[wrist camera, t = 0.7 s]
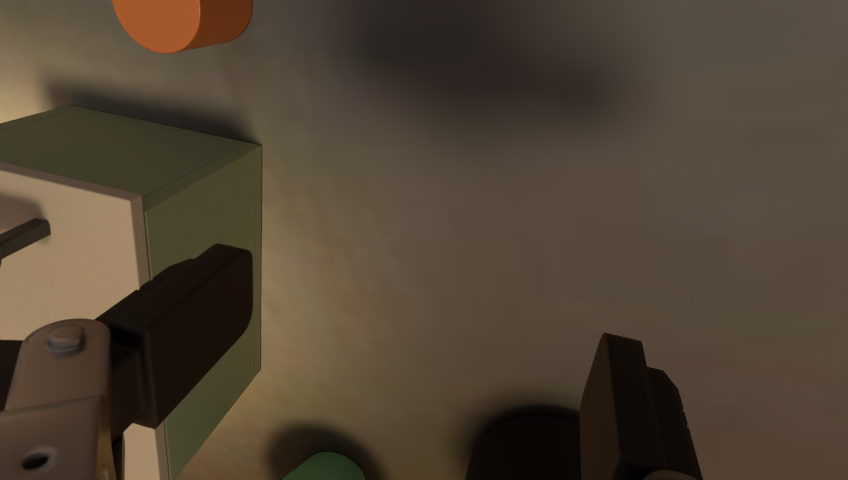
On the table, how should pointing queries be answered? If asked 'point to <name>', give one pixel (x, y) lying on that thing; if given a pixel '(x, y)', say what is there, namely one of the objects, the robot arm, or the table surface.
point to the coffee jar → (529, 450)
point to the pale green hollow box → (165, 221)
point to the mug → (326, 468)
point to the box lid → (73, 269)
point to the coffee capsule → (182, 22)
